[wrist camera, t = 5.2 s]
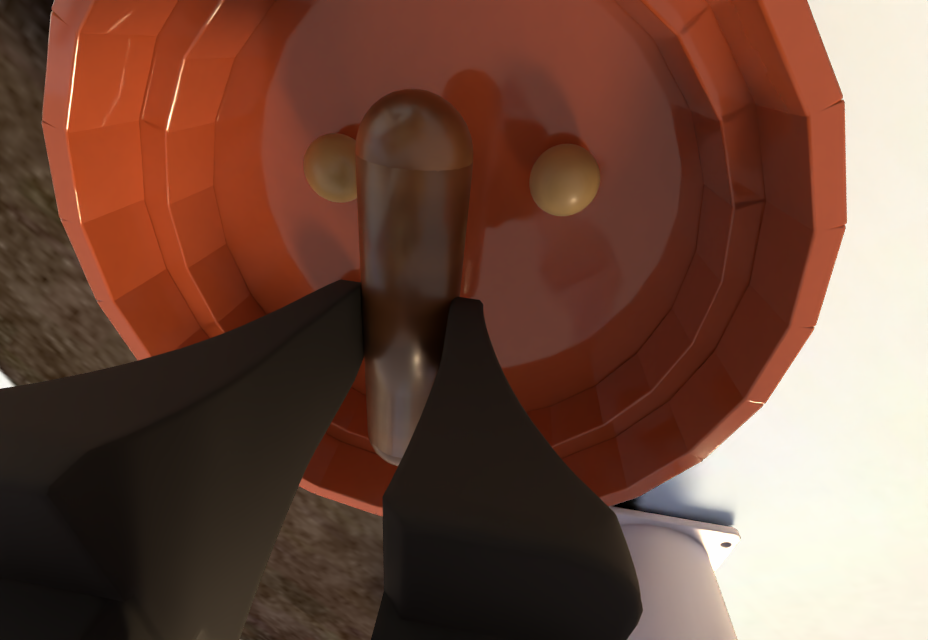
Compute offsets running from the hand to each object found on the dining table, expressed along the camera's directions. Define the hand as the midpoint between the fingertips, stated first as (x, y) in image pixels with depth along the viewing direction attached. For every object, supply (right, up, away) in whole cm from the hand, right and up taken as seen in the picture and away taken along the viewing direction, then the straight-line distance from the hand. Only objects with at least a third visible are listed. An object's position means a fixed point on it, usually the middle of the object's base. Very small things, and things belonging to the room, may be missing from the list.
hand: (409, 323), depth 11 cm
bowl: (+1, +3, +5) cm, 6 cm away
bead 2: (+4, +4, +2) cm, 6 cm away
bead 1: (-3, +5, +2) cm, 6 cm away
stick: (0, +1, +1) cm, 1 cm away
